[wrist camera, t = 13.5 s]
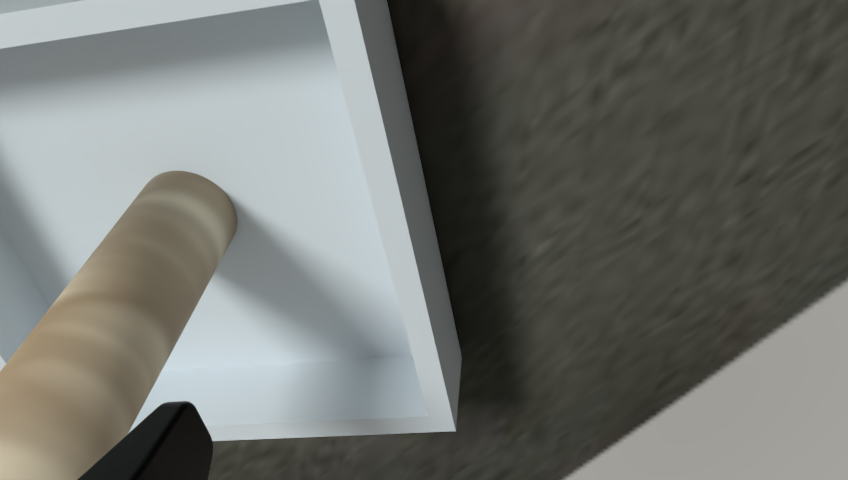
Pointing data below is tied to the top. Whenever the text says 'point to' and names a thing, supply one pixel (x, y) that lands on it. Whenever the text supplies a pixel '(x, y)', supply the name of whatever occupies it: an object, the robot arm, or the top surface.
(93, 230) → the tray
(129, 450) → the robot arm
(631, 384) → the top surface
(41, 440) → the dowel
